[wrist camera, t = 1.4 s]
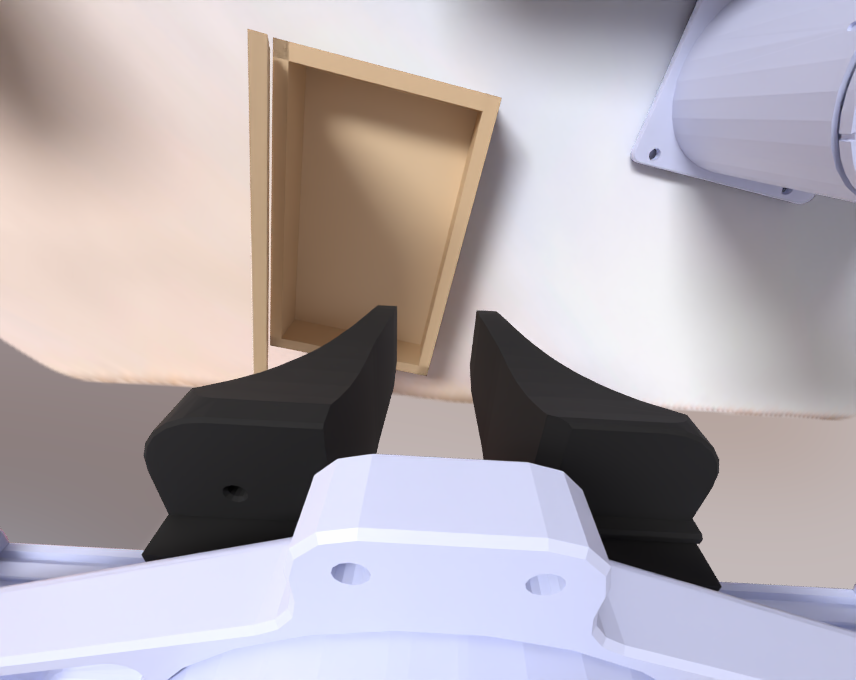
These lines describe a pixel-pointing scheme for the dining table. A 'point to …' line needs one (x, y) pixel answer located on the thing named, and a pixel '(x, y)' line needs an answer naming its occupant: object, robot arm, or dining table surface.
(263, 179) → the lid
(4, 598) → the robot arm
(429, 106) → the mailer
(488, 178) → the dining table surface
